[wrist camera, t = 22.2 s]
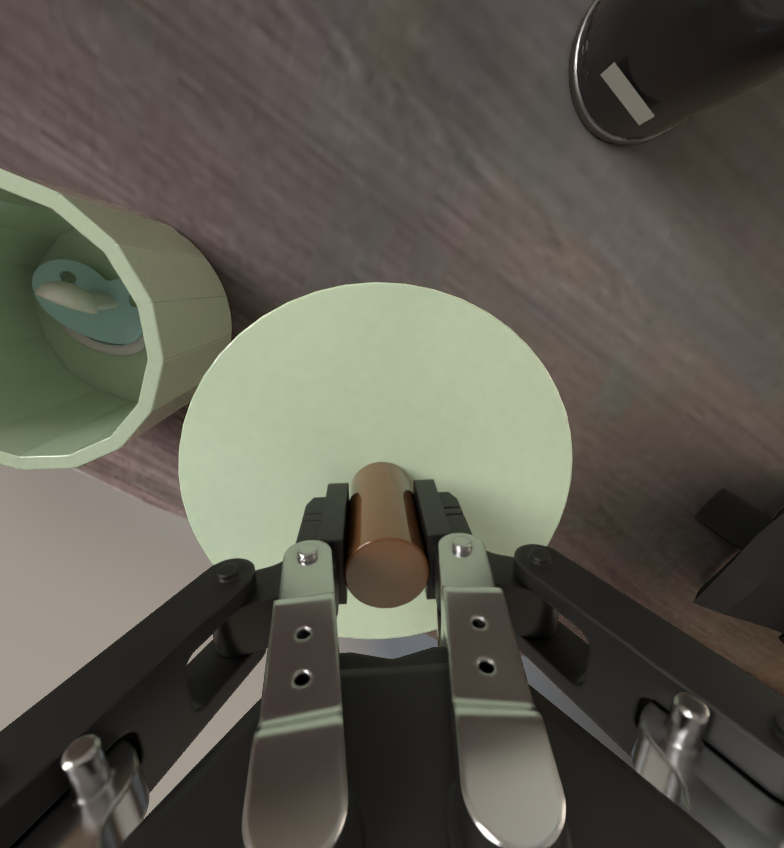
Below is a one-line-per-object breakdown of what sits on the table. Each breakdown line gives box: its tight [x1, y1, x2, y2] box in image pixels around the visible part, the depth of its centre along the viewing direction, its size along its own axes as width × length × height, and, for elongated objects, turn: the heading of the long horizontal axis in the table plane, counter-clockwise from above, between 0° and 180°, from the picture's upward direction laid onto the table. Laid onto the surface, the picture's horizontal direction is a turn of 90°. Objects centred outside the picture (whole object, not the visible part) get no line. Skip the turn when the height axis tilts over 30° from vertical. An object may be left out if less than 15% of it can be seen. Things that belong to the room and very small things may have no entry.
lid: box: [179, 282, 573, 639], centre depth 14 cm, size 15×15×6 cm
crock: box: [0, 167, 232, 470], centre depth 25 cm, size 14×14×12 cm
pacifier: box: [32, 259, 146, 356], centre depth 27 cm, size 7×6×6 cm
